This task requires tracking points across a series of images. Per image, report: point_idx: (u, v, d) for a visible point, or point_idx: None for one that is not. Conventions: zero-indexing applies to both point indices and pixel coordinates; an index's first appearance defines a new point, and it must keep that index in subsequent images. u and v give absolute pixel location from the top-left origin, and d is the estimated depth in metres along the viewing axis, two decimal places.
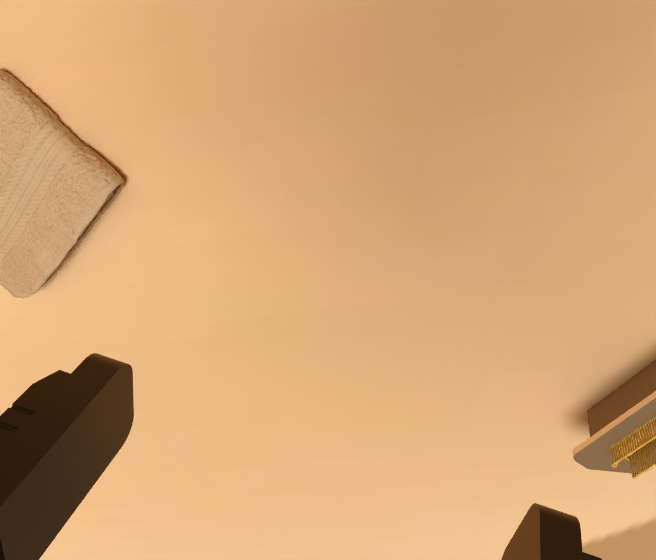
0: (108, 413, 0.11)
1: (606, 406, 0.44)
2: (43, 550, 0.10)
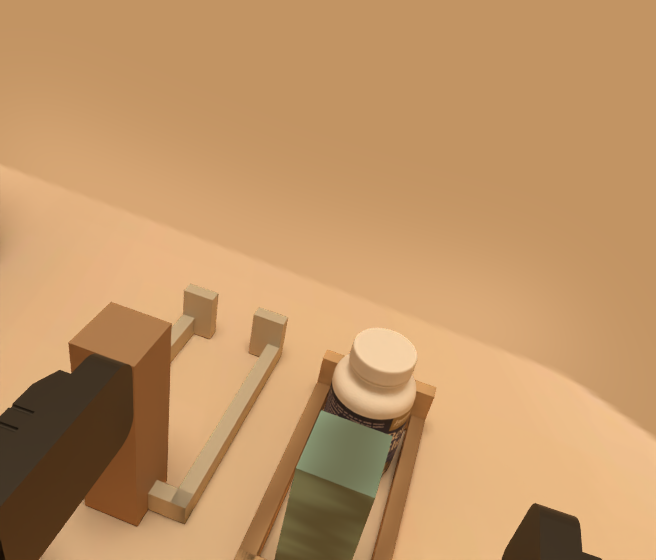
0: (108, 414, 0.11)
1: None
2: (43, 550, 0.10)
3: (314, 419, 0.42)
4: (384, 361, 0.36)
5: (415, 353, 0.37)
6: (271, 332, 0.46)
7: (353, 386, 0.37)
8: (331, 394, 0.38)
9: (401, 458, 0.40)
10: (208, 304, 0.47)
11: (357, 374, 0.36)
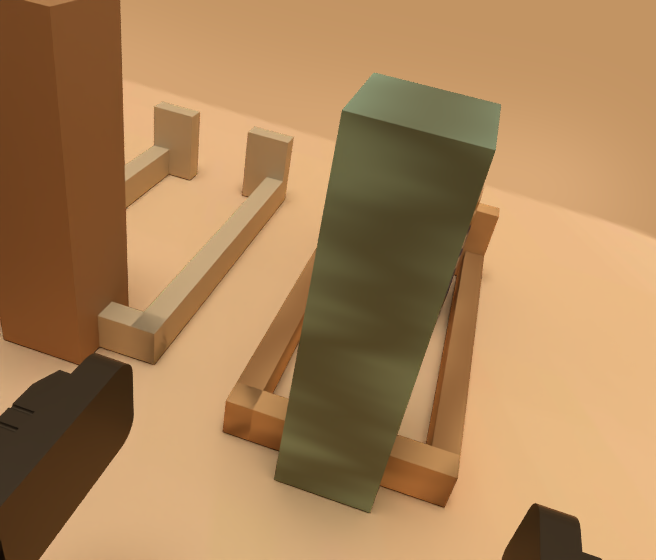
0: (108, 414, 0.11)
1: None
2: (43, 550, 0.10)
3: None
4: None
5: None
6: (272, 158, 0.35)
7: None
8: None
9: (460, 292, 0.29)
10: (187, 124, 0.35)
11: None
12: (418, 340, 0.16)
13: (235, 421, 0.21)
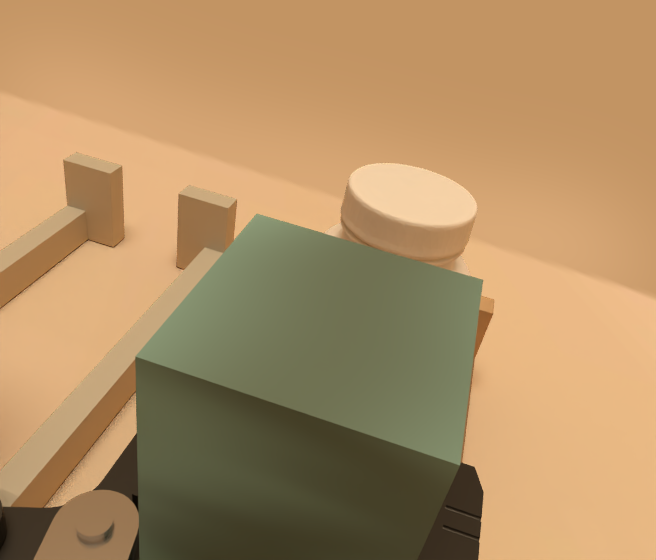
0: None
1: None
2: None
3: None
4: (414, 209, 0.17)
5: (472, 200, 0.18)
6: (209, 225, 0.28)
7: None
8: None
9: None
10: (105, 182, 0.28)
11: (357, 240, 0.18)
12: None
13: None
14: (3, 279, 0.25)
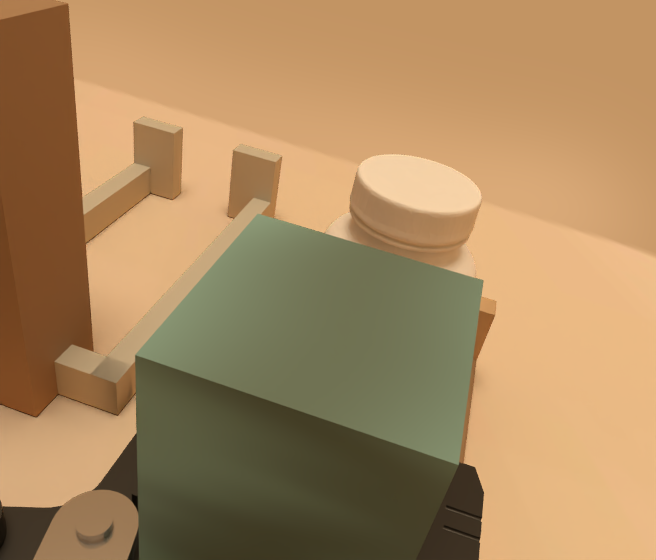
0: None
1: None
2: None
3: None
4: (421, 197, 0.18)
5: (477, 189, 0.19)
6: (258, 178, 0.32)
7: None
8: None
9: None
10: (169, 141, 0.33)
11: (366, 227, 0.18)
12: None
13: None
14: (90, 218, 0.30)
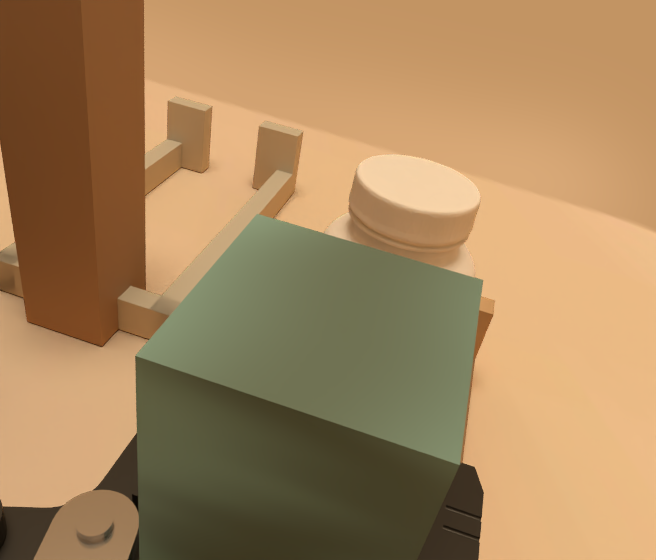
0: None
1: None
2: None
3: None
4: (420, 197, 0.18)
5: (476, 189, 0.19)
6: (282, 151, 0.36)
7: None
8: None
9: None
10: (200, 118, 0.36)
11: (366, 228, 0.18)
12: None
13: None
14: None
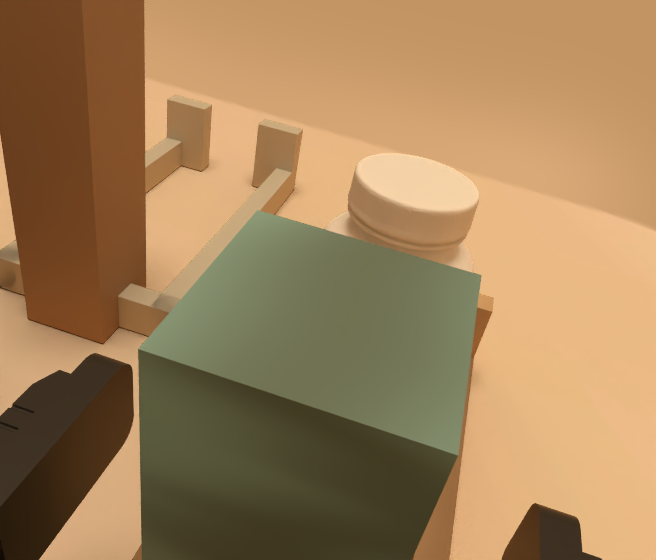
0: (108, 414, 0.11)
1: None
2: (43, 550, 0.10)
3: None
4: (419, 196, 0.18)
5: (474, 188, 0.19)
6: (281, 149, 0.36)
7: None
8: None
9: None
10: (199, 117, 0.36)
11: (365, 226, 0.18)
12: None
13: None
14: None
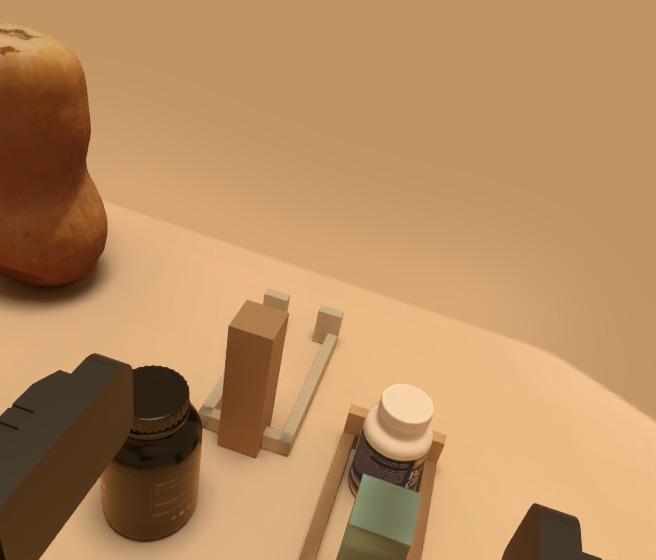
0: (108, 413, 0.11)
1: None
2: (43, 550, 0.10)
3: (343, 466, 0.49)
4: (408, 414, 0.44)
5: (432, 405, 0.45)
6: (331, 324, 0.62)
7: (382, 434, 0.45)
8: (363, 440, 0.46)
9: None
10: (283, 304, 0.62)
11: (385, 424, 0.44)
12: None
13: None
14: None
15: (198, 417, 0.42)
